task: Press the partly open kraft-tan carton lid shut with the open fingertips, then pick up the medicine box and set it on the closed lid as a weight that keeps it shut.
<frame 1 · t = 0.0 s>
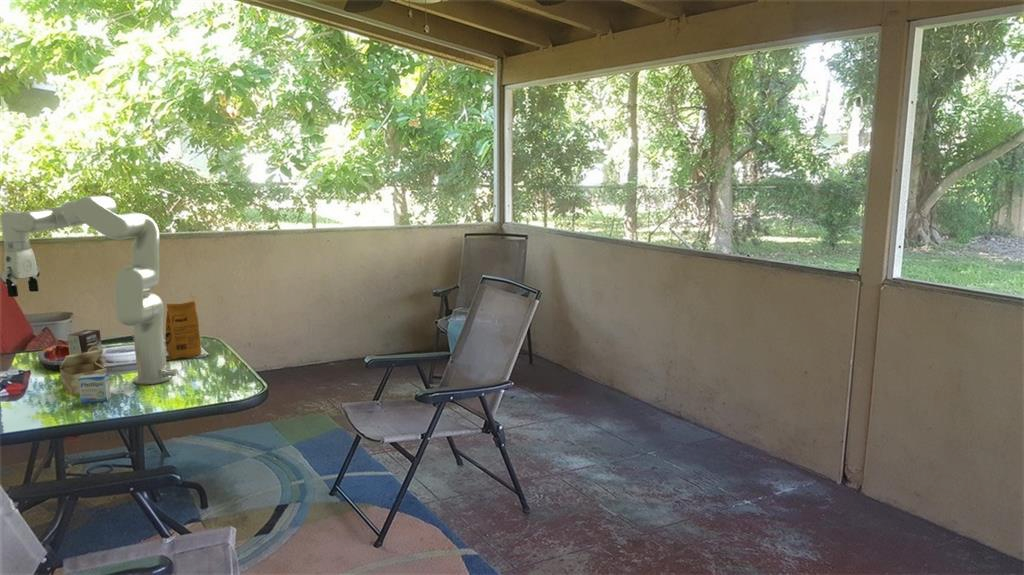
hand: (23, 293, 251), 31 cm above the table, tool pointing down, fingers open, 9 cm apart
dish: (63, 363, 276), on the table
coffee package: (184, 355, 285), on the table
coffee box: (88, 374, 260), on the table
carton lid: (81, 358, 243), point 10 cm above the table, hinge at 30.0°
carton: (85, 388, 244), on the table
medicine box: (96, 401, 232), on the table
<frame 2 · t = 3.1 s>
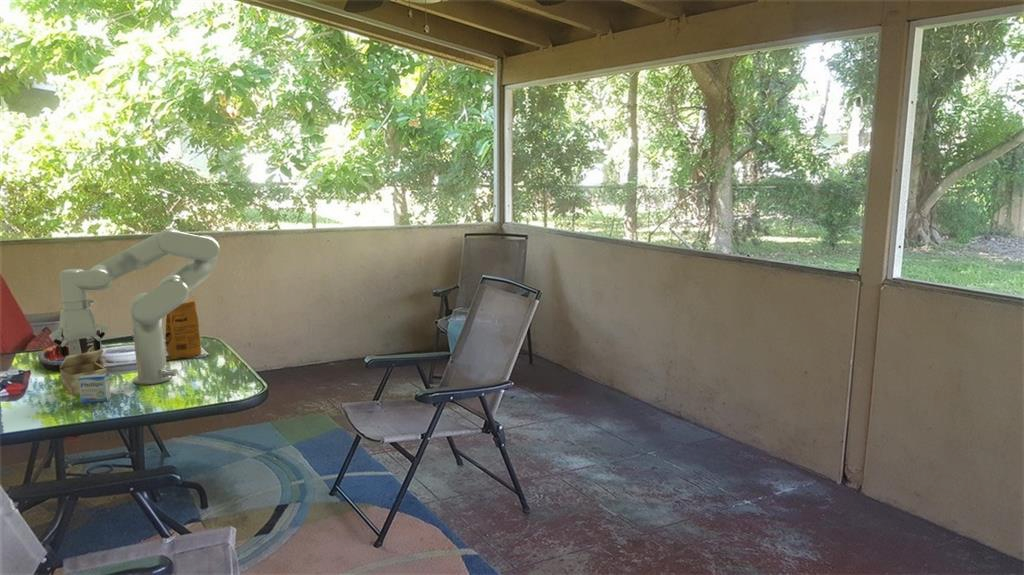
hand: (81, 354, 241), 12 cm above the table, tool pointing down, fingers open, 9 cm apart
carton lid: (81, 359, 243), point 10 cm above the table, hinge at 29.4°, touching gripper
everything else where it was.
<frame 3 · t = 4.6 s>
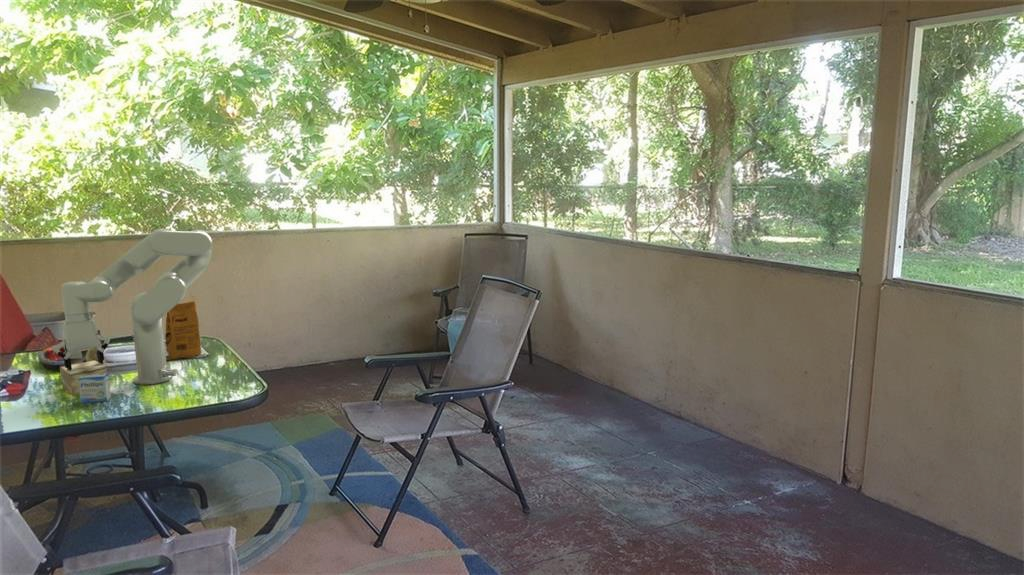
hand: (85, 366, 242), 8 cm above the table, tool pointing down, fingers open, 9 cm apart
carton lid: (83, 367, 243), point 8 cm above the table, hinge at 1.5°
everything else where it was.
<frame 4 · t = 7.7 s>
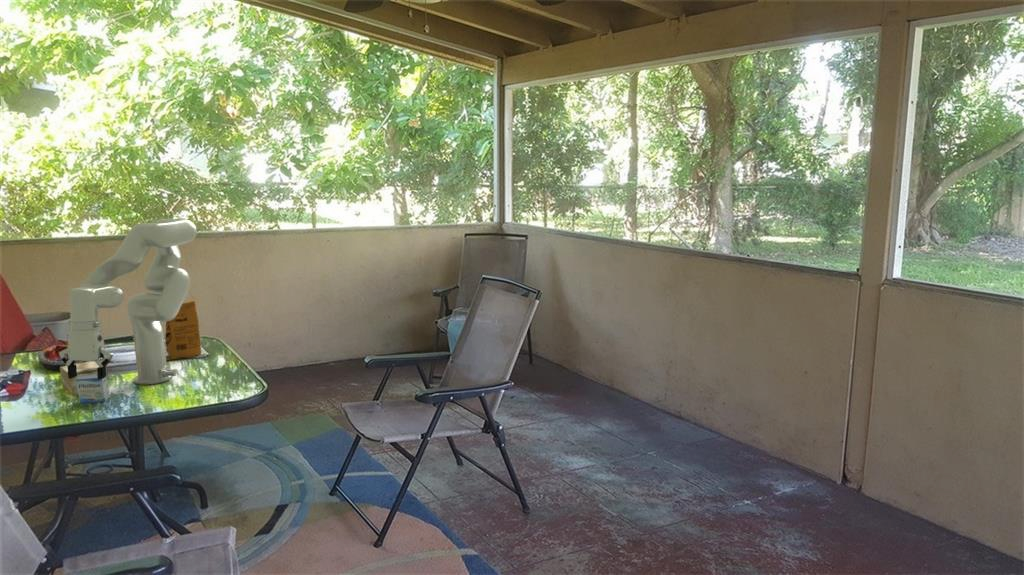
hand: (87, 378, 228), 8 cm above the table, tool pointing down, fingers open, 9 cm apart
medicine box: (95, 400, 232), on the table, touching gripper
everything else where it was.
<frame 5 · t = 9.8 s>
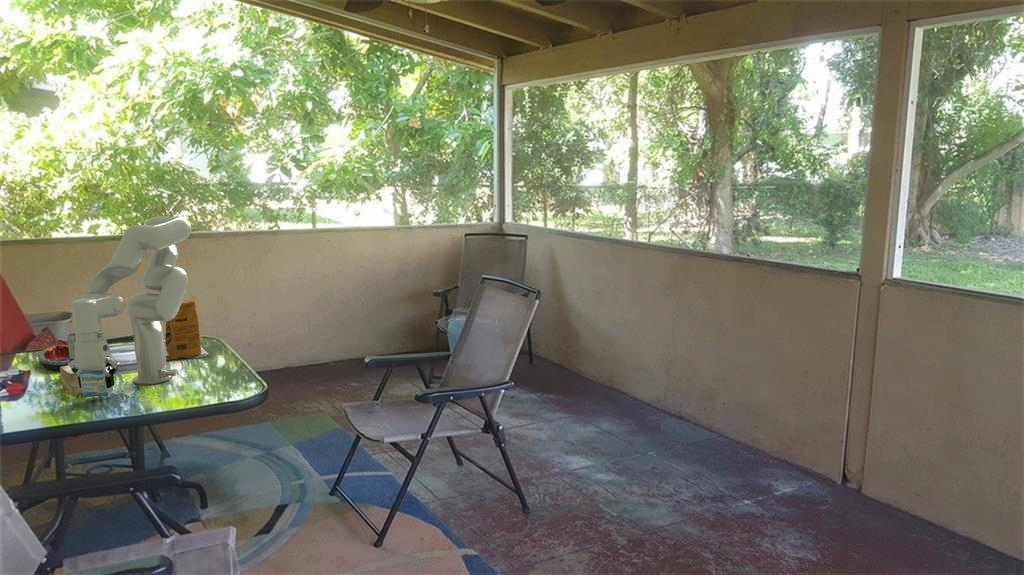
hand: (97, 386, 232), 4 cm above the table, tool pointing down, fingers closed on medicine box, 8 cm apart
medicine box: (98, 394, 233), point 2 cm above the table, touching gripper
everything else where it was.
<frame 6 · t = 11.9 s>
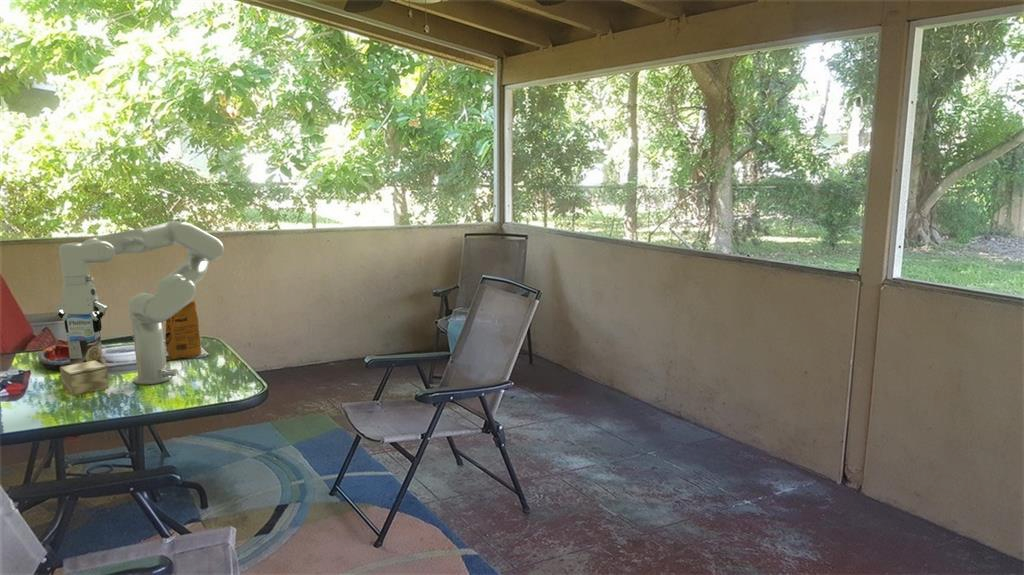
hand: (84, 331, 234), 22 cm above the table, tool pointing down, fingers closed on medicine box, 8 cm apart
medicine box: (85, 339, 235), point 19 cm above the table, touching gripper
everything else where it was.
when the fingers open (11 cm above the table, at t = 15.1 s): medicine box drops 1 cm, resting on carton lid.
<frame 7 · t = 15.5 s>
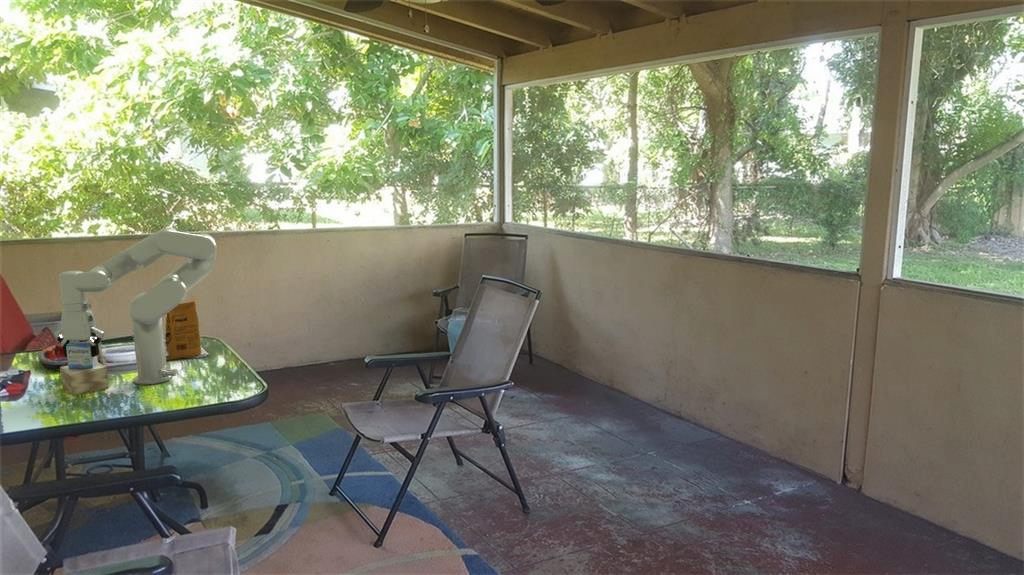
hand: (81, 355, 242), 12 cm above the table, tool pointing down, fingers open, 9 cm apart
carton lid: (83, 367, 243), point 7 cm above the table, hinge at -0.3°, touching carton, medicine box
medicine box: (83, 367, 243), point 7 cm above the table, touching carton lid
everything else where it was.
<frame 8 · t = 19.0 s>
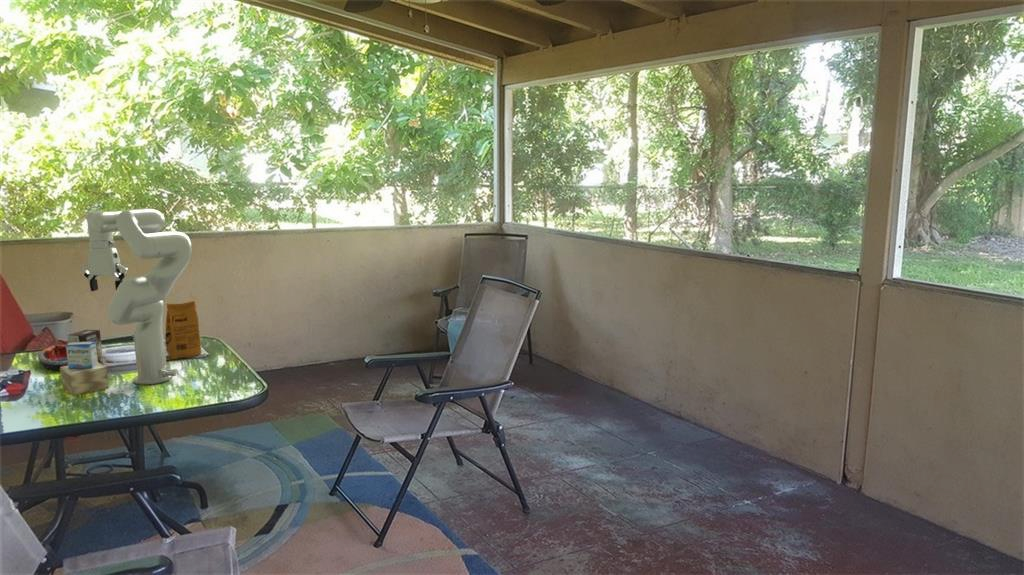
hand: (107, 290, 261), 30 cm above the table, tool pointing down, fingers open, 9 cm apart
nothing on the table moved.
at the end: carton lid at +0° (first picture: +30°); medicine box inside the target area on the carton (0.1 cm from its centre), point 7.4 cm above the carton's base; medicine box tilted 0° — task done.
